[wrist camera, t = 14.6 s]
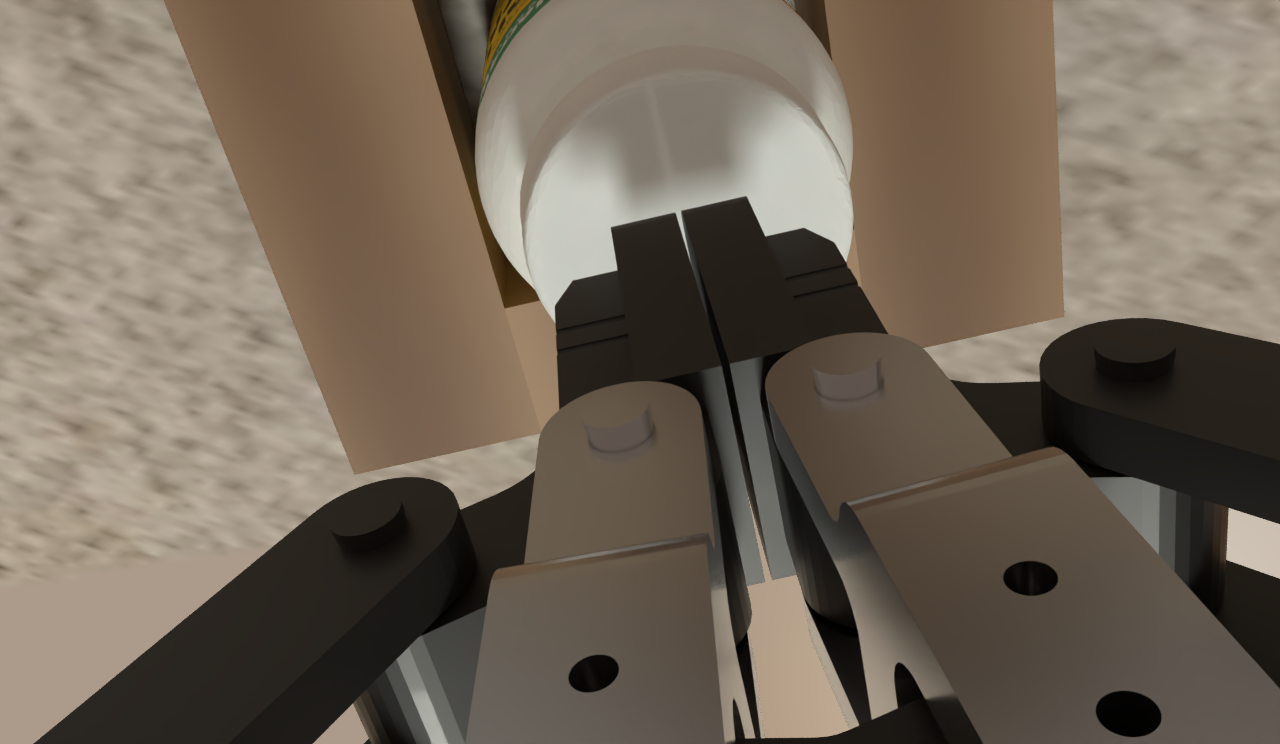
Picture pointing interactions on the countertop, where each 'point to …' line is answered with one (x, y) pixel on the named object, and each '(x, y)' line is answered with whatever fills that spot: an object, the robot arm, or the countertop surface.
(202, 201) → the countertop surface
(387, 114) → the socket board
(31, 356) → the countertop surface
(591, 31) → the supplement bottle
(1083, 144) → the countertop surface
